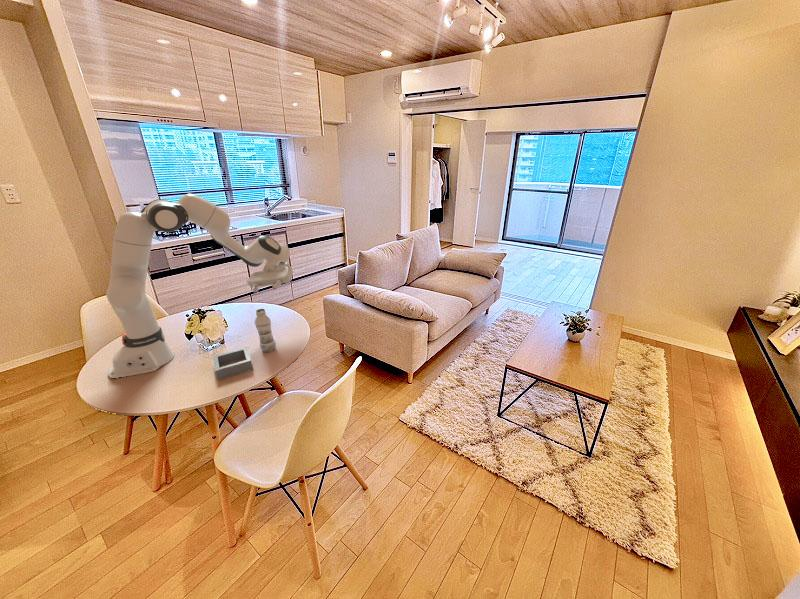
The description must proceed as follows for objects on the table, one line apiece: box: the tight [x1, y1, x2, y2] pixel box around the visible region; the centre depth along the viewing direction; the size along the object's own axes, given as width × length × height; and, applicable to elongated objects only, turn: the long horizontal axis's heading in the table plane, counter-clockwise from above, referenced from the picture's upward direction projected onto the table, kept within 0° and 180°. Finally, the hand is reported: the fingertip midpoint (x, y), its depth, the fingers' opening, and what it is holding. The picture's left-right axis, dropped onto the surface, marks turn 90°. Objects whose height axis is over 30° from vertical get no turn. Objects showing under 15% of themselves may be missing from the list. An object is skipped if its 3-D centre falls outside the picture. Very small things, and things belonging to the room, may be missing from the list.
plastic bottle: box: [254, 308, 277, 353], centre depth 141 cm, size 6×7×20 cm
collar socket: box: [212, 346, 254, 381], centre depth 133 cm, size 13×12×4 cm
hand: (264, 289), depth 141 cm, fingers open, 8 cm apart
